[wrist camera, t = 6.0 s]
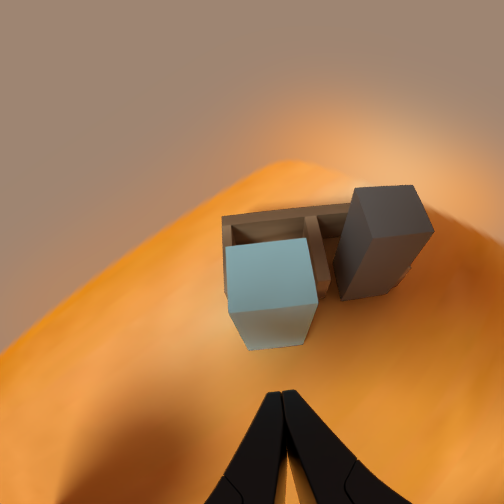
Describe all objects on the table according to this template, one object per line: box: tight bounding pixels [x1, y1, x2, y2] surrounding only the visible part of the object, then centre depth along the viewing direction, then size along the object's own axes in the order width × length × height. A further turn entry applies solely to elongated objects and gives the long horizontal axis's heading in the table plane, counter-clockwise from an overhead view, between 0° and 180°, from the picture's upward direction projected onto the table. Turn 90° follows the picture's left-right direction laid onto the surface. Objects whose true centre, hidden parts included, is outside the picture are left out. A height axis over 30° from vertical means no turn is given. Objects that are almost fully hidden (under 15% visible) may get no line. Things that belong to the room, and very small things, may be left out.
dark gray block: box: [333, 185, 435, 301], centre depth 16 cm, size 3×4×8 cm
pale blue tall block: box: [225, 238, 318, 351], centre depth 15 cm, size 3×4×8 cm
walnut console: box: [222, 203, 411, 299], centre depth 20 cm, size 6×12×3 cm, turn 95°
